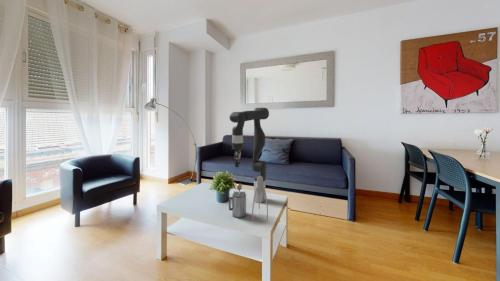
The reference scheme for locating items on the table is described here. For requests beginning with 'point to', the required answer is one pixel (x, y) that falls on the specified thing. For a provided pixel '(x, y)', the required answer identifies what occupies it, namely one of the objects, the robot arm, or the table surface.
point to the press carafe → (238, 204)
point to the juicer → (260, 186)
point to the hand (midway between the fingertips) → (237, 165)
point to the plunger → (239, 187)
